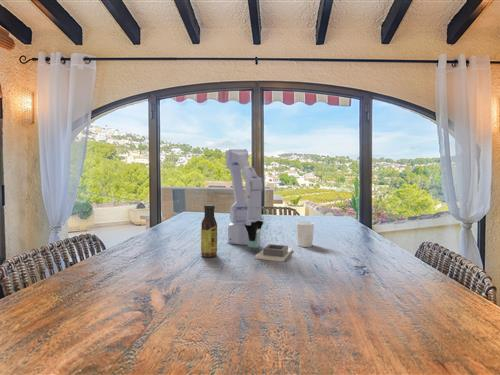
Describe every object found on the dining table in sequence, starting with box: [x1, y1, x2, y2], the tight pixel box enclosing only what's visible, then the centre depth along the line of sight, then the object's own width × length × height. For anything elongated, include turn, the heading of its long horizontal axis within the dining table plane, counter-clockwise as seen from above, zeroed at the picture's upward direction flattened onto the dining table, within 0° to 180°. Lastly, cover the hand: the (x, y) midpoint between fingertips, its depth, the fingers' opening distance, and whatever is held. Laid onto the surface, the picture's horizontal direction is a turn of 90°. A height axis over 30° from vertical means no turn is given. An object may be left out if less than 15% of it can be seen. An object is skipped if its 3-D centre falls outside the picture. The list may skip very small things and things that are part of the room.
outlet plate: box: [254, 243, 294, 262], centre depth 122 cm, size 11×16×4 cm
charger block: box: [247, 229, 261, 248], centre depth 127 cm, size 4×4×7 cm
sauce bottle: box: [200, 204, 218, 258], centre depth 119 cm, size 7×6×20 cm
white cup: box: [295, 221, 315, 248], centre depth 136 cm, size 8×8×10 cm
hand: (254, 239), depth 127 cm, fingers closed on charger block, 4 cm apart
